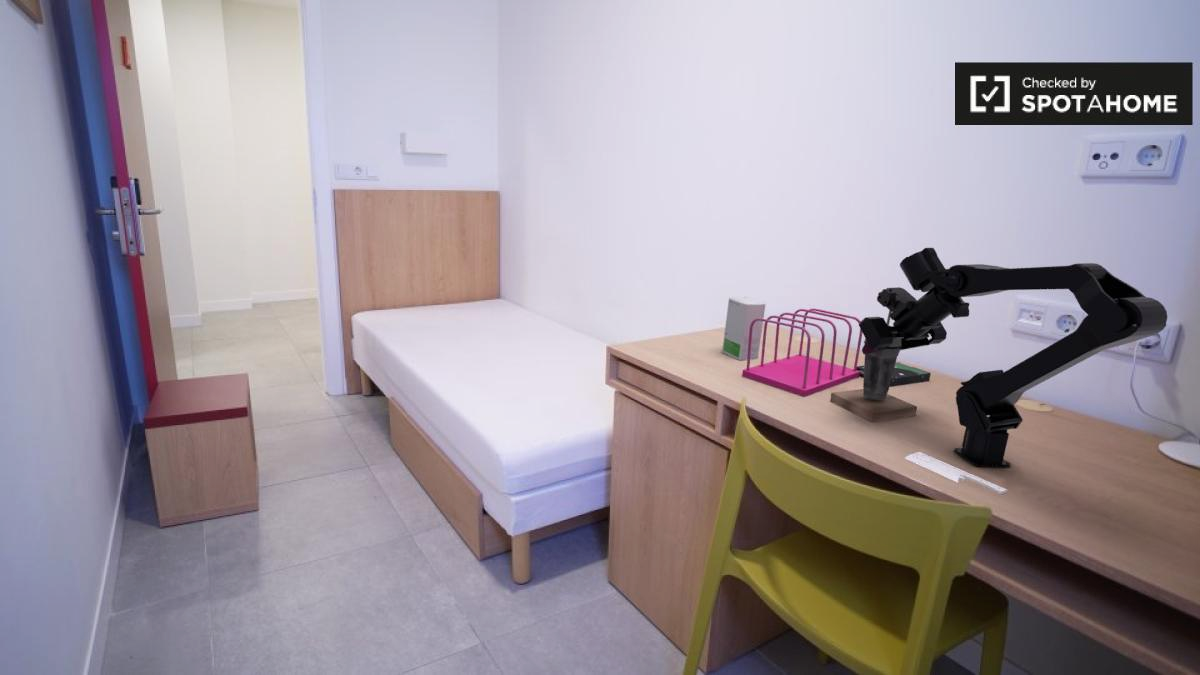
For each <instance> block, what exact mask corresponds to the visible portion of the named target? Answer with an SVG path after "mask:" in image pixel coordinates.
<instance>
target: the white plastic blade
mask: <svg viewBox="0 0 1200 675" xmlns="http://www.w3.org/2000/svg"><path fill="white" fill-rule="evenodd" d="M904 459H905V460H908V461H909V462H911V463H913V464H917V465H918V466H920V467H923V468H925V469H927V470H929V471H932V472H933V473H935V474H938V475H940V476H942V477H945V478H946V479H949V480H950V481H953V482H955V483H959V481H962V482H965V481H966V480H969V481H971V482H974V483H977V484H979V485H981V486H982V487H983V486H984V487H986V488H988V489H990V490H992V491H994V492H995V493H998V494H1000V495H1002V494H1006V493H1007V492H1008V489H1006V488H1004V487H1002V486H999V485H997V484H995V483H993V482H990V481H988V480H986V479H983V478H982V477H979V476H976V475H974V474H971V473H969V472H967V471H965V470H962V469H960V468H958V467H956V466H953V465H951V464H949V463H946V462H944V461H942V460H940V459H937V458H936V457H933V456H931V455H928V454H925V453H924V452H921V451H918V452H914V453H910V454H908V455H907V456H905V457H904Z"/></svg>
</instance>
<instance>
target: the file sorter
mask: <svg viewBox="0 0 1200 675" xmlns="http://www.w3.org/2000/svg"><path fill="white" fill-rule="evenodd" d="M799 312H800V313H801V312H805V313H804V314H799ZM809 313H810V314H815V315H819V316H824V317H828V318H833V319H836V320H841V321H844V322H845V323H846V324H847V325H848V335H847V342H846V348H845V352H844V353H845V354H844V359H843V365H840V364H836V363H835V353H836V347H837V346H836V344H837V332H838V331H837V327H836V324H834V323H835V322H833V321H832V320H829V319H827V318H821V317H816V316H810V315H808V314H809ZM786 316H792V318H789V317H786ZM796 317H798V318H803V320H800V319H796ZM772 319H777V320H772ZM807 319H809V320H815V321H820V322H825V323H827V324H829V325H830V326H832V329H833V337H832V338H833V339H832V349H831V350H832V351H831V357H830V358H831V359H830V362H829V361H826V360H823V355H824V347H825V340H826V339H825V331H824V329H823V328H822V327H821V326H820V325H819V324H817V323H814V322H808V321H807ZM848 319H852V320H855V321H856V322H857V324H859V323H860V322H861V321H862V320H860V319H859V318H858V317H856V316H853V315H852V316H851V315H849V314H848V315H847V314H843V313H839V312H835V311H830V310H825V309H819V308H810V309H807V308H806V309H805V308H800V309H797V310H795V311H794V312H793V313H792V312H782V313H780V314H779V315H769V316H768V317H767V318H764V319H762V318H758V319H755V320H753V321H752V323H751V325H750V331H749V343H748V356H747V360H746V368H744V369H742V374H741V376H742V377H744V378H748V379H750V380H753V381H755V382H756V381H757V382H758V383H759V382H760V383H762V384H765V385H769V386H772V387H773V388H777V389H780V390H783V391H786V392H789V393H792V394H794V395H795V394H796V395H798V396H801V397H804V398H805V397H807V396H811V395H813V394H816V393H818V392H821V391H825V390H827V389H830V388H832V387H836V386H839V385H842V384H844V383H847V382H849V381H852V379H853V380H856V379H857V378H860V376H859V373H860V371H857V370H856V368H857V367H858V363H859V356H860V351H861V344H862V338H863V332H862V330H861V329H860V328H859V336H858V342H857V347H856V352H855V360H854V364H853V368H849V367H847V363H848V356H849V350H850V345H851V340H852V334H853V326H852V324H851V322H850V320H848ZM781 320H784V321H788V322H791V324H790V323H787V322H781ZM756 321H763V323H764V326H763V334H762V336H763V337H762V343H761V344H762V346H761V355H760V356H761V357H760V364H758V365H755V366H751V367H750V365H751V359H750V354H751V341H752V329H753V325H754V323H755V322H756ZM769 323H770V324H775V325H776V330H775V342H774V356H773V360H772V361H769V362H766V363H765V361H764V360H765V353H766V352H765V350H766V341H767V340H766V339H767V338H766V337H767V328H768V324H769ZM795 323H799V324H802V326H801V325H796V324H795ZM780 325H781V326H784V327H789V328H790V333H789V338H788V340H789V341H788V346H787V354H786V357H783V358H780V359H778V347H779V335H780V334H779V333H780ZM806 325H807V326H808V325H809V326H811V327H816V328H817V329H818V330H819V331H820V333H821V341H820V342H821V343H820V348H819V349H820V350H819V358H814V357H811V356H810V350H811V340H812V339H811V334H810V333H809V331H808V330H807V329H806ZM794 329H799V330H801V334H800V335H801V337H800V344H799V351H798V354H795V355H791V348H792V342H793V334H794ZM805 334H806V336H807V344H806V345H807V346H806V354H805V355H803V345H804V336H805Z"/></svg>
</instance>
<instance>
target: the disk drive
mask: <svg viewBox="0 0 1200 675" xmlns="http://www.w3.org/2000/svg"><path fill="white" fill-rule="evenodd" d="M856 370H857V371H860V373H859V378H862V379H864V365H859V366H858V365H857V368H856ZM931 374H932V373H931V372H929V371H926V370H923V369H920V368H917V367H915V366H910V365H907V364H903V363H901V362H899V361H896V363H895V367H894V371H893V375H892V379H891V382H890V386H889V388H891V387H899V386H903V385H904V386H905V385H912V384H918V383H925V382H926V383H927V382H930V379H931Z"/></svg>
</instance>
